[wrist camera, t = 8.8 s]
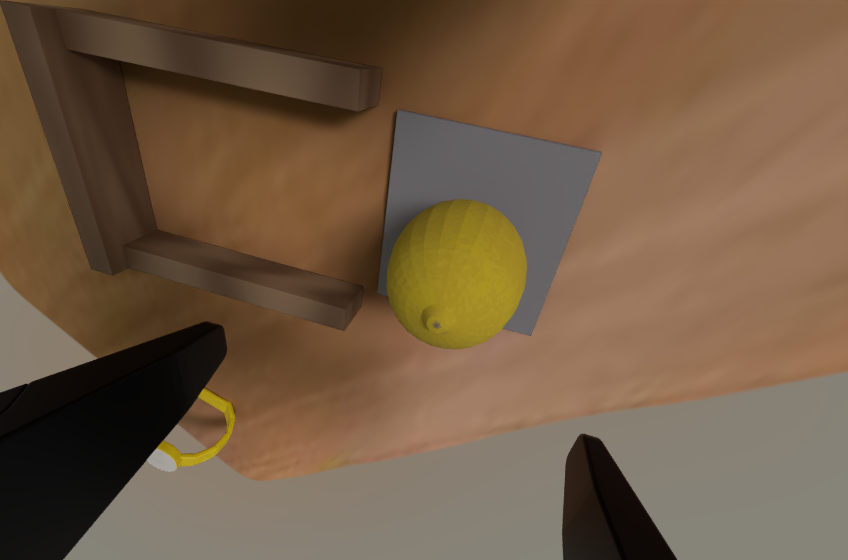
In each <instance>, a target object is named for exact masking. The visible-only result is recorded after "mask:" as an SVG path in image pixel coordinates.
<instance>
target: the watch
mask: <svg viewBox="0 0 848 560" xmlns="http://www.w3.org/2000/svg"><path fill="white" fill-rule="evenodd" d="M198 397H199V398H200V399H202V400H204V401H205V402H207V403H209V404H210V405H212V406H214V407H215V408H217V409H219V410H220V411H222V412H224V414H225V418H226V422H227V429H226V432H225V435H224V436H223V437H222V438H221V439H220V440H219V441H218V442H217V443H216V444H215V445H214V446H213V447H210V448H208V449H205V450H203V451H201V452H198V453H196V454H181V453H180V452H179V451H178V449H176V448H175V447H174V446H173V445H171V444H169V443H167V442H165V441H162V442H161V444H160V445H159V446H158V447H157V448H156V450H155V451H154V452H153V453H152V454H151V456H150V457H149V458H148V459H147V460H146V461H147V462H149V463H150V464H151V465H153V466H154V467H156V468H158V469H160V470H163V471H167V472H173V471H175V470H176V469H177V468H178V467H179V466H192V465H197V464H199V463H201V462H203V461H206V460H208V459H210V458H212V457H213V456H215V455H216V454H217V453H218V452H219V451H220V450H221V449H222V448H223V447H224V446H225V444H226V443H227V441H228V440H229V438H230V435H231V433H232V429H233V426H234V423H235V413H234V410H233V406H232V404H231V402H228V401H226V400H225V399H223V398H221V397H219V396H217V395H216V394H214V393H212V392H211V391H209V390H207V389H206V388H204V389H203V390H202V392H201V393H200V395H199V396H198Z"/></svg>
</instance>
